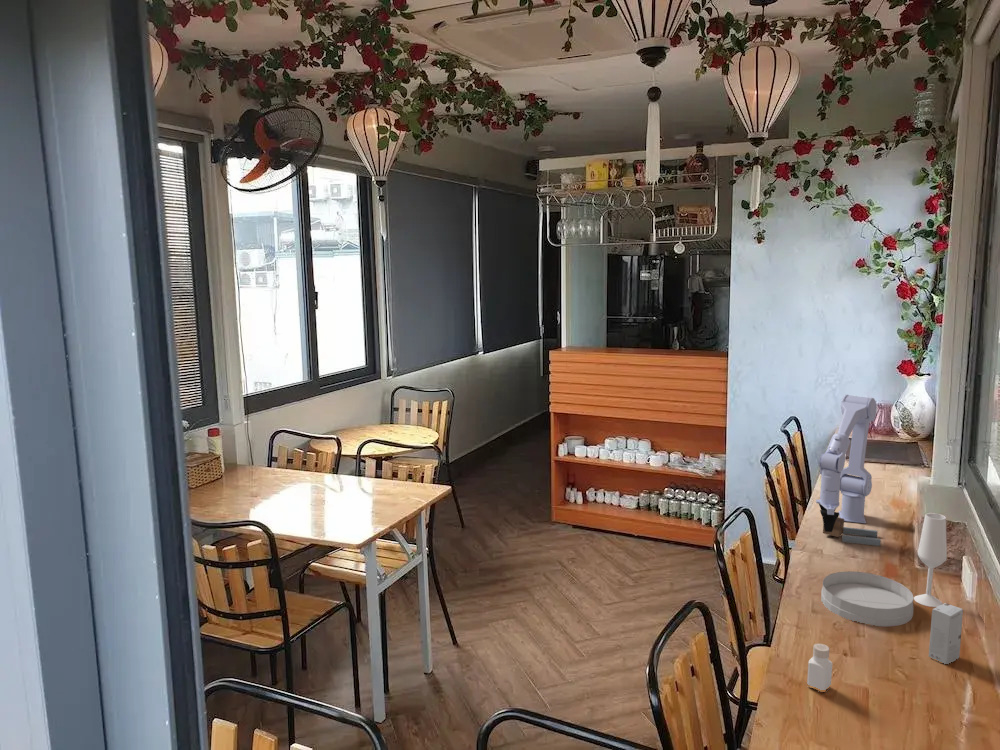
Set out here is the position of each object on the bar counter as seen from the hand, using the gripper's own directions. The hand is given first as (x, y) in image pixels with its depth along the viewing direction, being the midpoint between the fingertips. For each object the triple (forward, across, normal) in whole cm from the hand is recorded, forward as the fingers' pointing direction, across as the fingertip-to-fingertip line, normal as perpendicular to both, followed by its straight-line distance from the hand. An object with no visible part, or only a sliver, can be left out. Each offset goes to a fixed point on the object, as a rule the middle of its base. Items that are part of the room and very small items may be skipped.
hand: (827, 528), depth 244 cm
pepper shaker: (+2, +93, -8) cm, 93 cm away
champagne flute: (+3, +41, +22) cm, 47 cm away
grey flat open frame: (+2, 0, +10) cm, 10 cm away
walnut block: (+1, 0, +2) cm, 2 cm away
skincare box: (+2, +71, +20) cm, 74 cm away
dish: (+3, +49, +6) cm, 50 cm away
